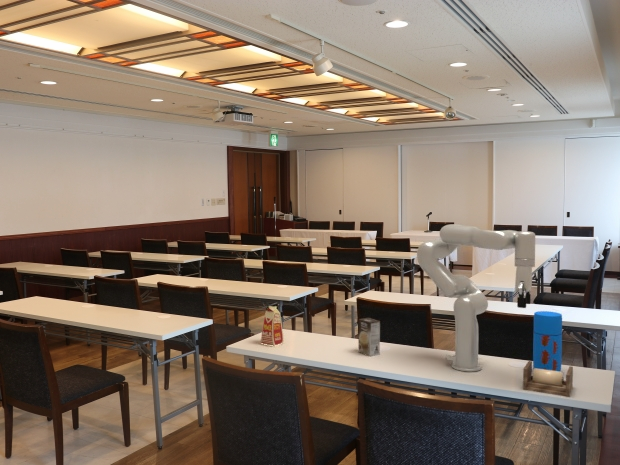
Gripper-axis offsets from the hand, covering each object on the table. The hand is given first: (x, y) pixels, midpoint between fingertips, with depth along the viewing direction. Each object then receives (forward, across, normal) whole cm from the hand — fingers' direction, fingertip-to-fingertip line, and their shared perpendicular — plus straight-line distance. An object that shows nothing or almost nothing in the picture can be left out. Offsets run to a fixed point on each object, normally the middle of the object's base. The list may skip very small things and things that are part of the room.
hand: (523, 305), depth 219 cm
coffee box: (+31, -6, -70) cm, 77 cm away
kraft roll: (+29, +5, +10) cm, 31 cm away
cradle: (+30, +5, +10) cm, 32 cm away
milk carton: (+31, +2, -120) cm, 124 cm away
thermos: (+31, -15, +7) cm, 35 cm away
